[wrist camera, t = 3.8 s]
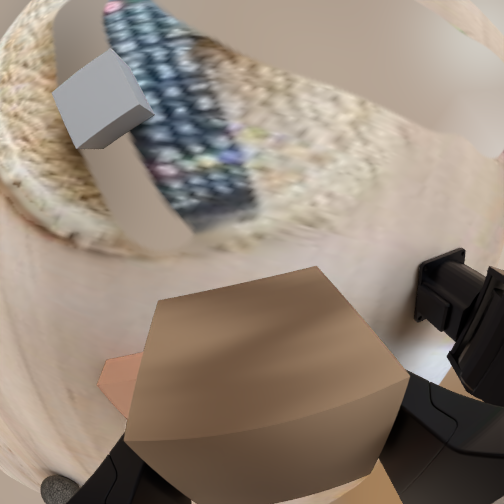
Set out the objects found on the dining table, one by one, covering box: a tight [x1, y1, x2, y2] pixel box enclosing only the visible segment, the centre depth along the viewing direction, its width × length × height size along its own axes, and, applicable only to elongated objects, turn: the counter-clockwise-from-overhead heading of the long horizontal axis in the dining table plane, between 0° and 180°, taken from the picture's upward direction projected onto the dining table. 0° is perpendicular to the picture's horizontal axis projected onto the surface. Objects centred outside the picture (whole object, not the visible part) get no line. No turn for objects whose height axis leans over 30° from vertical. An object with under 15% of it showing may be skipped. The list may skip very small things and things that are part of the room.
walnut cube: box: [124, 266, 410, 504], centre depth 7 cm, size 5×5×5 cm
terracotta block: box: [97, 352, 143, 420], centre depth 20 cm, size 7×7×4 cm
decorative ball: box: [41, 476, 80, 504], centre depth 25 cm, size 10×10×10 cm
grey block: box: [52, 49, 155, 149], centre depth 12 cm, size 4×4×4 cm
